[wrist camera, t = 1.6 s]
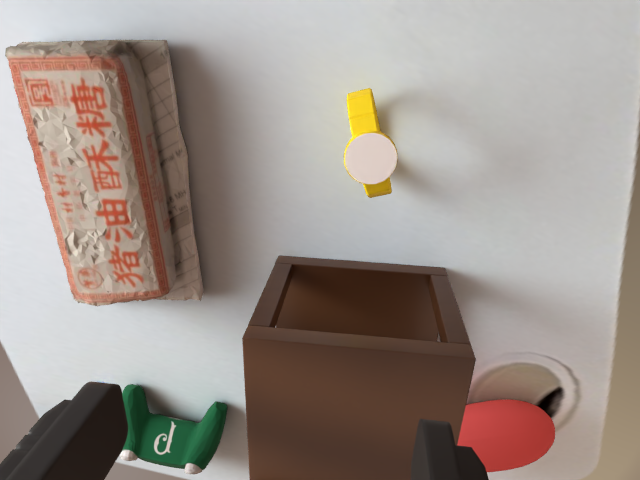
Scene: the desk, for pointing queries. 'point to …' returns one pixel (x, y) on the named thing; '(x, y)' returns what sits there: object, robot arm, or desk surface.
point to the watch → (368, 146)
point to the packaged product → (111, 166)
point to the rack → (351, 368)
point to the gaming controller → (170, 434)
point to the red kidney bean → (506, 433)
